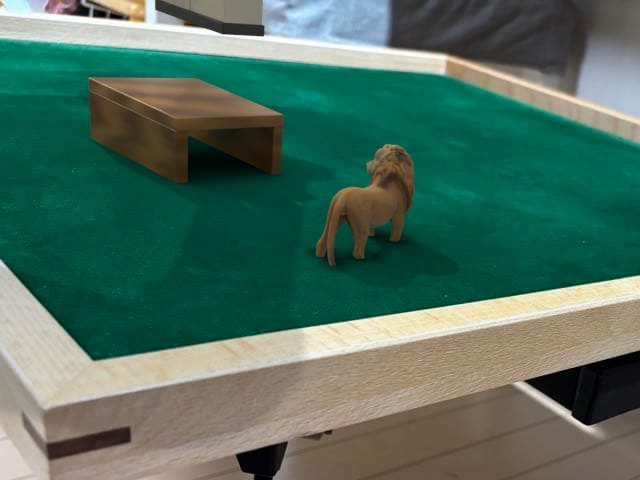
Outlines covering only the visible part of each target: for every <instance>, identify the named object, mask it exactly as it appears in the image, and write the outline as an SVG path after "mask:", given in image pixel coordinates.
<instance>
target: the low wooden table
mask: <svg viewBox="0 0 640 480" xmlns="http://www.w3.org/2000/svg"><path fill="white" fill-rule="evenodd" d="M87 81H88V104H89V121H90V122H89V125H90V138H91V140H92V141H94V142H96V143H98V144H100V145H102V146H104V147H106V148H108V149H110V150H112V151H113V152H116V153H118V154H119V155H122V156H123V157H125V158H127V159H129V160H131V161H133V162H135V163H137V164H138V165H141V166H143V167H144V168H147V169H148V170H150V171H153V172H154V173H156V174H158V175H159V176H162V177H164V178H165V179H168V180H169V181H171V182H173V183H175V184H183V183H188V182H189V137H192V138H194V139H195V140H197V141H200V142H201V143H204V144H206V145H209V146H211V147H212V148H215V149H216V150H219V151H220V152H223V153H224V154H228V155H229V156H232V157H234V158H236V159H238V160H240V161H243V162H244V163H246V164H249V165H251V166H252V167H255V168H257V169H259V170H261V171H263V172H266V173H268V174H269V175H281V174H282V161H283V160H282V157H283V138H284V122H285V121H284V119H285V115H284V114H283V113H280V112H278V111H275V110H274V109H271V108H268V107H266V106H263V105H262V104H259V103H256V102H254V101H252V100H249V99H248V98H244V97H243V96H240V95H237V94H235V93H233V92H231V91H227V90H226V89H223V88H221V87H218V86H216V85H214V84H211V83H209V82H206V81H204V80H201V79H199V78H197V77H193V78H192V77H88V80H87Z"/></svg>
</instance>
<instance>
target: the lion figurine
mask: <svg viewBox="0 0 640 480" xmlns="http://www.w3.org/2000/svg"><path fill="white" fill-rule="evenodd" d="M414 169H415V167H414V161H413V160H412V157H411V155H410V154H409V153H408V151H406V149H405V148H404V147H402V146H400V145H398V144H389V143H386V144H384V145H383V146H382V148H379V149H377V151H376V152H375V153H374V159H373V160H370V161H367V163H366V171H367V172H366V173H367V174H368V175H369V176H370V180H369V185H368V186H366V187H358V186H348V187H344V188H342V189H340V190H339V191H338V192H337V193H335V195H334V196H333V197H332V200H331V202H330V205H329V209H328V212H327V217H326V222H325V227H324V230H323V232H322V235H321V237H320V238H319V239H318V242H317V243H316V246H315V247H316V248H315V256H316V257H319V258H324V257H325V256H326V251H327V260H328V261H327V262H328V264H329V266H330V267H334V266H337V264H336V260H335V240H336V234H337V233H338V232H339V230H340V229H341V228H342V227H343V225H344V224H345V223H346V224H347V226H348V228H349V229H350V232H351V235H352V239H353V249H352V256H353V257H354V259H357V260H359V259H360V260H362V259H363V260H364V259H365V248H366V244H367V241H368V237H375V236H376V228H379V227H381V226H384V225H386V224H387V223H390V227H391V228H390V229H391V230H390V231H391V232H390V236H389V241H390V242H399V241H400V239H401V238H402V232H403V229H404V225H405V214H406V213H407V212H408V211H409V210H411V209H412V206H413V197H414V196H415V180H414V178H415V172H414Z"/></svg>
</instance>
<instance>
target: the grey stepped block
mask: <svg viewBox="0 0 640 480" xmlns="http://www.w3.org/2000/svg"><path fill="white" fill-rule="evenodd" d="M263 7H264V0H154V10H155V11H157V12H159V13H163V14H165V15H168V16H171V17H174V18H176V19H178V20H182V21H185V22H187V23H190V24H192V25H195V26H198V27H201V28H203V29H206V30H209V31H211V32H215V33H218V34H220V35H224V36H225V35H226V36H227V35H228V36H245V37H246V36H247V37H262V38H263V37H265V25H263V9H264V8H263Z"/></svg>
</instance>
